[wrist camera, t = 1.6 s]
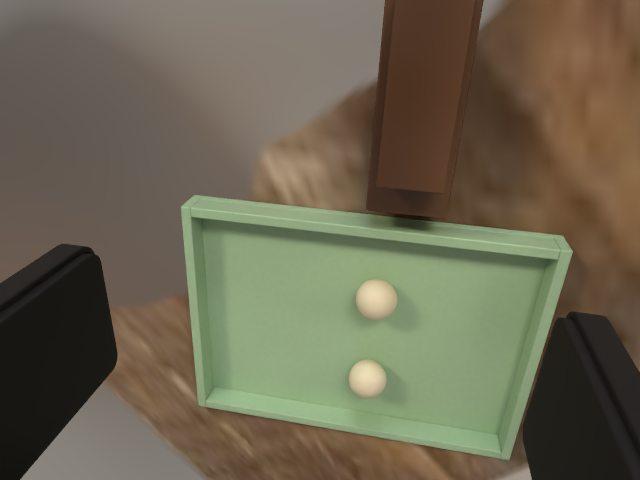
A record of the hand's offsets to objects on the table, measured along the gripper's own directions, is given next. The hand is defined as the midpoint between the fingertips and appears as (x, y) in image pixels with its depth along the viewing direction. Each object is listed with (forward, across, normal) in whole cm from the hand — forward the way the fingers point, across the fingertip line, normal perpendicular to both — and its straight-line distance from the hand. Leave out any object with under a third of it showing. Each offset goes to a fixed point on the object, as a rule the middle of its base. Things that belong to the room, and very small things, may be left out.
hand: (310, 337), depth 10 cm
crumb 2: (+16, -1, +15) cm, 22 cm away
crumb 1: (+16, -1, +9) cm, 19 cm away
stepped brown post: (+18, -2, -3) cm, 18 cm away
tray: (+18, 0, +12) cm, 22 cm away
